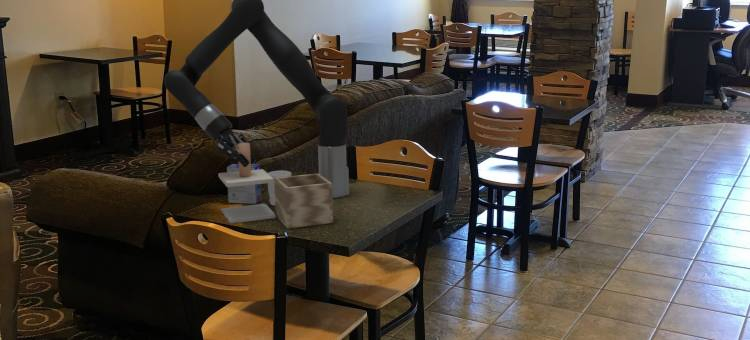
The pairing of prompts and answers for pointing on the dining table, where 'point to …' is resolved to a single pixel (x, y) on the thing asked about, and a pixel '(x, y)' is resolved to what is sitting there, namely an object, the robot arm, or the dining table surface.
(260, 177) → the lid
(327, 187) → the box
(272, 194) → the white cup
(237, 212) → the plate
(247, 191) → the ink cartridge box
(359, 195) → the dining table surface
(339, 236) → the dining table surface
